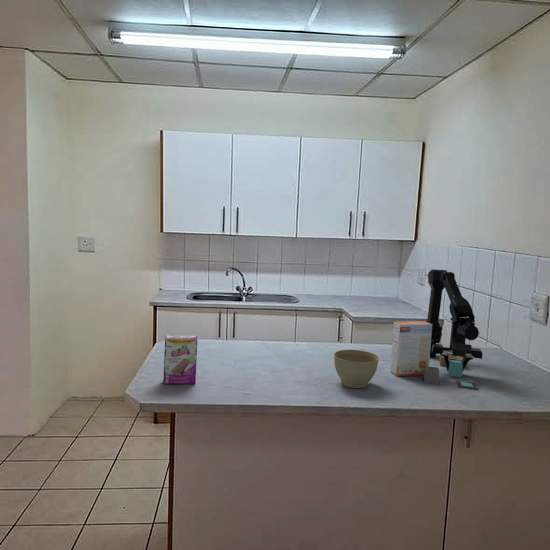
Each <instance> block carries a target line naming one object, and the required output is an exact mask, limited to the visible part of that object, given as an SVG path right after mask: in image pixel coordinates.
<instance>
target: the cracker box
mask: <svg viewBox="0 0 550 550" xmlns="http://www.w3.org/2000/svg"><path fill="white" fill-rule="evenodd" d="M426 321H427V320H425V321H394V322H393V330H392V331H393V332H392V344H391V345H392V346H391V358H390V360H391V362H390V373H392V374H393V375H394V376H396V377H411V376H415V377H417V376H424V369H425V366H428V367H430V358H431V357H430V347H431V335H432V324H430V323H428V322H426Z"/></svg>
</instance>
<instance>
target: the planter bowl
mask: <svg viewBox="0 0 550 550" xmlns="http://www.w3.org/2000/svg"><path fill="white" fill-rule="evenodd" d="M333 357H334V358H333V359H334V367H335V372H336V373H337V376H338V378H339V379H340V381H341V382H340V383H341V385H343V386H345V387H347V388H350V389H351V388H353V389H363V388H366V387H368V385H369V382H370V381H371V380H372V379H373V377H374V376H375V374H376V372H377V370H378V369H377V368H378V364H379V359H380V357H379V355H377V353H374V352H370V351H367V350H361V349H341V350H337V351H335V352H334V353H333Z"/></svg>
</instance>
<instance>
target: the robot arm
mask: <svg viewBox="0 0 550 550" xmlns="http://www.w3.org/2000/svg"><path fill="white" fill-rule="evenodd" d="M427 280H428V281H427V283H428V285H429V288H430V295H429V304H428V311H427V319H426V320H425V321H426V322H428V323H430V324H432V335H431V347H430V358H436V356H437V355H439V356H440V355H441V356H443V357H444V359H445V363H446V367H445V368H446V372H447V371H448V369H449V360H448V358H449V356H448V353H451V354H452V355H453V356H461V357H463V361H462V364H463V369H462V373H463V372H464V371H465V368H466V366H467V364H468V363H469V361H472V360H474V359H481V360H482V359H483V351H482V350H481V349H480V347H479V348H477V347H473V346H472V344H466V343H467V342H466V340H468V341H474V340H476V339H477V338H478V337H479V335H480V331H479V328H478V327H477V326H476V323H475V322H476V319H475V318H476V317H475V314H474V311H473V308H472V305H471V304H470V302H469V300H467V299H466V298H465V297H464V296H463V295H462V293H461V290H460V288H459V286H458V283H457V281H456V276H455V272H452V271H447V270H446V269H432V268H431V270H430V271H428V273H427ZM444 289H445V291H446V293H447V297H448V299H449V301H450V304H449V306H448V307H449V313H450V315H451V318H450V319H449V320H450V321H451V328H450V331H451V332H450V338H449V341H450V342H449V347H447V346H446V347H445V346H444V345H443V344H442V343H441V344H440V342H441V339H442V336H443V333H442V331H443V327H442V326H441V324H440V323H439V320H440V314H441V313H440V312H441V307H442V306H441V305H442V298H443V296H442V295H443V290H444Z"/></svg>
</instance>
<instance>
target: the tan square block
mask: <svg viewBox="0 0 550 550" xmlns="http://www.w3.org/2000/svg"><path fill="white" fill-rule="evenodd" d="M448 356H449V358H448V360H455V361H461V362H462V361H463V357H461V356H453V355H452V353H450V352H448ZM438 361H439V366H440V367H445V368H446V363H445V359H444V357H443V356H441V355H440V354H439V360H438Z"/></svg>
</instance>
